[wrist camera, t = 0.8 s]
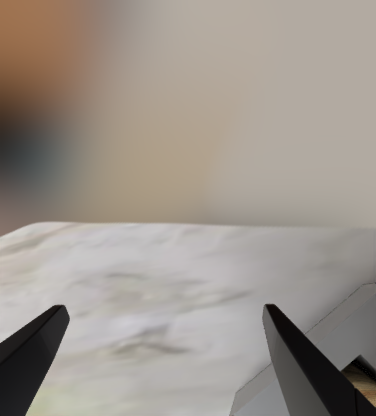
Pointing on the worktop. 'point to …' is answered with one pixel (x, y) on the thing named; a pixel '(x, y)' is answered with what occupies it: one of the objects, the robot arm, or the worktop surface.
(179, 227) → the worktop surface
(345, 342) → the block
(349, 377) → the brass plug
